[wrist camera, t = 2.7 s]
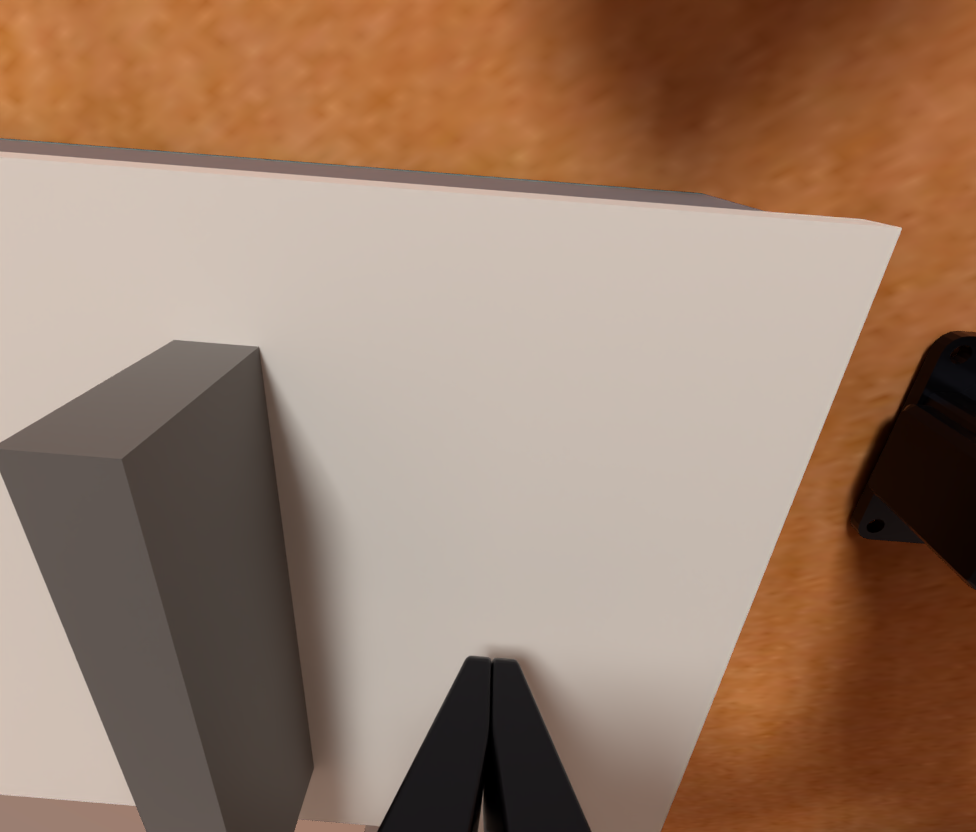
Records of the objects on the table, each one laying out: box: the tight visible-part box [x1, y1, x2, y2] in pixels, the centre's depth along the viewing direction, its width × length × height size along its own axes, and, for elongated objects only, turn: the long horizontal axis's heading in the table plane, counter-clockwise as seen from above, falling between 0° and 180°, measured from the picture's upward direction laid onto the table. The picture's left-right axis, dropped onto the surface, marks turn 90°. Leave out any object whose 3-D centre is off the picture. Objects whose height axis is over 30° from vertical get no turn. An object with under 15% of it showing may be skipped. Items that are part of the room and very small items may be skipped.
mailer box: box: [0, 138, 766, 212], centre depth 13 cm, size 20×14×6 cm
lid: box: [0, 151, 902, 832], centre depth 9 cm, size 20×14×4 cm
